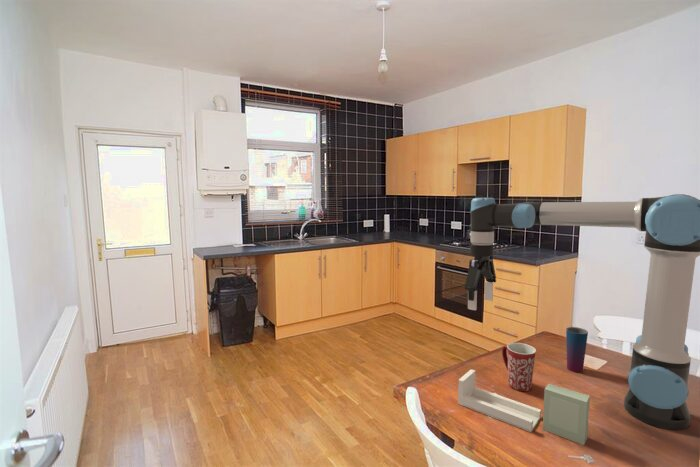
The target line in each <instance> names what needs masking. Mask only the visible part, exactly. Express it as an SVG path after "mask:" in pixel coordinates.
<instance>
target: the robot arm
mask: <svg viewBox="0 0 700 467" xmlns="http://www.w3.org/2000/svg"><path fill="white" fill-rule="evenodd" d="M534 225H535V226H574V227H600V228H603V227H604V228H627V229H629V228H633V229H634V228H635V229H637V230H638V231H639V232H645V234H644V236H645V237H644V243H643V245H644V248H645V249H646V250H647V251H648V252H649V254H650V258H649V267H648V273H647V274H648V276H647V285H646V286H647V287H646V294H645V303H644V309H643V310H644V311H643V320H642V327H641V334H640V335H638V336H637V337H635V338H636V339H635V340H636V341H635V342H634V344H633V346H632V354H631V355H632V356H631V363H630V371H629V373H628V374H627V381H628V386H629V389H628V391H627V392H626V393H625V394H626V395H625V396H624V398H623V408H624V409H625V411H626V412H628V414H629V415H631V416H632V417H634V418H635V419H638V420H639V421H641V422H644V423H645V424H648V425H652V426H653V427H657V428H661V429H666V430H674V431H676V430H677V431H679V430H685V429H687V427H688V426H689V425H690V426H691V414H690V411H689V407H688V405H687V401H686V400H687V399H688V397H689V394H690V393H689V391H690V390H689V388H688V384H689V378H690V369H691V361H692V360H691V359H692V358H691V356H690V354H689V348H688V345H687V344H685V343H686V337H687V336H686V335H687V327H688V321H689V313H690V312H689V311H690V303H691V298H692V289H693V282H694V274H695V265H696V259H697V258H698V257H699V256H700V199H698V198H697V197H695V196H692V195H687V194H680V193H679V194H677V193H675V194H671V195H670V194H669V195H665V196H657V197H641V198H639V199H638V200H637V201H553V202H552V201H551V202H549V201H548V202H547V201H545V202H539V201H538V202H537V201H536V202H534V201H524V202H521V203H520V202H519V203H517V202H516V203H496V200H495V198H494V197H474V198H472V200H471V202H470V232H469V236H470V238H469V239H470V240H469V241H470V245H469V254H470V255H471V256H474V258H473V259H470V260H469V263H468V264H469V266H468V269H467V275H466V279H465V285H464V290H465V291H467V309H468V310H471V311H477V308H478V306H477V304H478V303H477V302H478V300H477V298H478V296H477V295H478V290H477V287H478V283H479V280H480V278H481V275H482V274H483V277H484V280H485V281H484V297H483V298H484V300H485V301H488V302H489V301H491V302H493V300H494V283H497V274H496V269H495V265H494V250H495V249H494V247H495V246H494V244H493V243H495V228H496V227H498V228H512V229H513V228H515V229H530V228H532V227H533V226H534ZM690 426H689V427H690ZM689 427H688V428H689Z"/></svg>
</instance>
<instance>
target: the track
mask: <svg viewBox="0 0 700 467" xmlns="http://www.w3.org/2000/svg"><path fill="white" fill-rule="evenodd" d="M457 390H458V393H457V396H458V397H457V398H458V399H457V404H458V405H461V406H463V407H465V408H468V409H471V410H473V411H475V412H478V413H481V414H483V415H486V416H488V417H490V418H493V419H496V420H498V421H501V422H503V423H506V424H508V425H510V426H513V427H516V428H518V429H521V430H524V431H526V432H529V433H532V432H533V430H534V429H535V427H536V426H537V424H538V422H539V421H540V419H541V418H542V416H541V414H542V413H541V412H542V410H541V409H540V408H537V407H534V406H532V405H528V404H525V403H522V402H520V401H517V400H513V399H511V398H508V397H505V396H503V395H499V394H498V393H497V394H496V393H494V392H491V391H489V390H486V389H482V388H479V387H477V386H476V370H474V369H469V370H468V371H467V372H466V373H465V374H464V375H462V376H461V377H460V378H459V379H458V389H457Z"/></svg>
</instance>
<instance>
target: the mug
mask: <svg viewBox="0 0 700 467" xmlns="http://www.w3.org/2000/svg"><path fill="white" fill-rule="evenodd" d="M536 353H537V349H536V348H535V347H534V346H532V345H529V344H527V343H523V342H522V343H521V342H512V343H511V342H510V343H508V344H507V345H504V346H503V347H502V351H501V354H502V359H503V362H504V365H505V368H506V370H507V384H508V386H509V388H512V389H513V390H515V391H519V392H520V391H521V392H529V391H530V390H531V389H532V386H533V376H534V370H535V369H534V367H535V358H536Z"/></svg>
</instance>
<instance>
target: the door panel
mask: <svg viewBox="0 0 700 467" xmlns="http://www.w3.org/2000/svg"><path fill="white" fill-rule="evenodd" d="M543 394H544V396H543V412H542V413H543V414H542V415H543V416H542V417H543V418H542V430H543V431H546V432H548V433H551V434H553V435H556V436H559V437H561V438H564V439H566V440H569V441H572V442H574V443H576V444H580V445H582V446H585V444H586V442H587V440H588V433H589V432H588V431H589V416H590V415H589V414H590V400H591V398H590V396H591V395H589V394H585V393H581V392H578V391H575V390H572V389H568V388H565V387H562V386H559V385H555V384H552V383H550V382H549V383H548V384H546V386H545V388H544V391H543Z"/></svg>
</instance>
